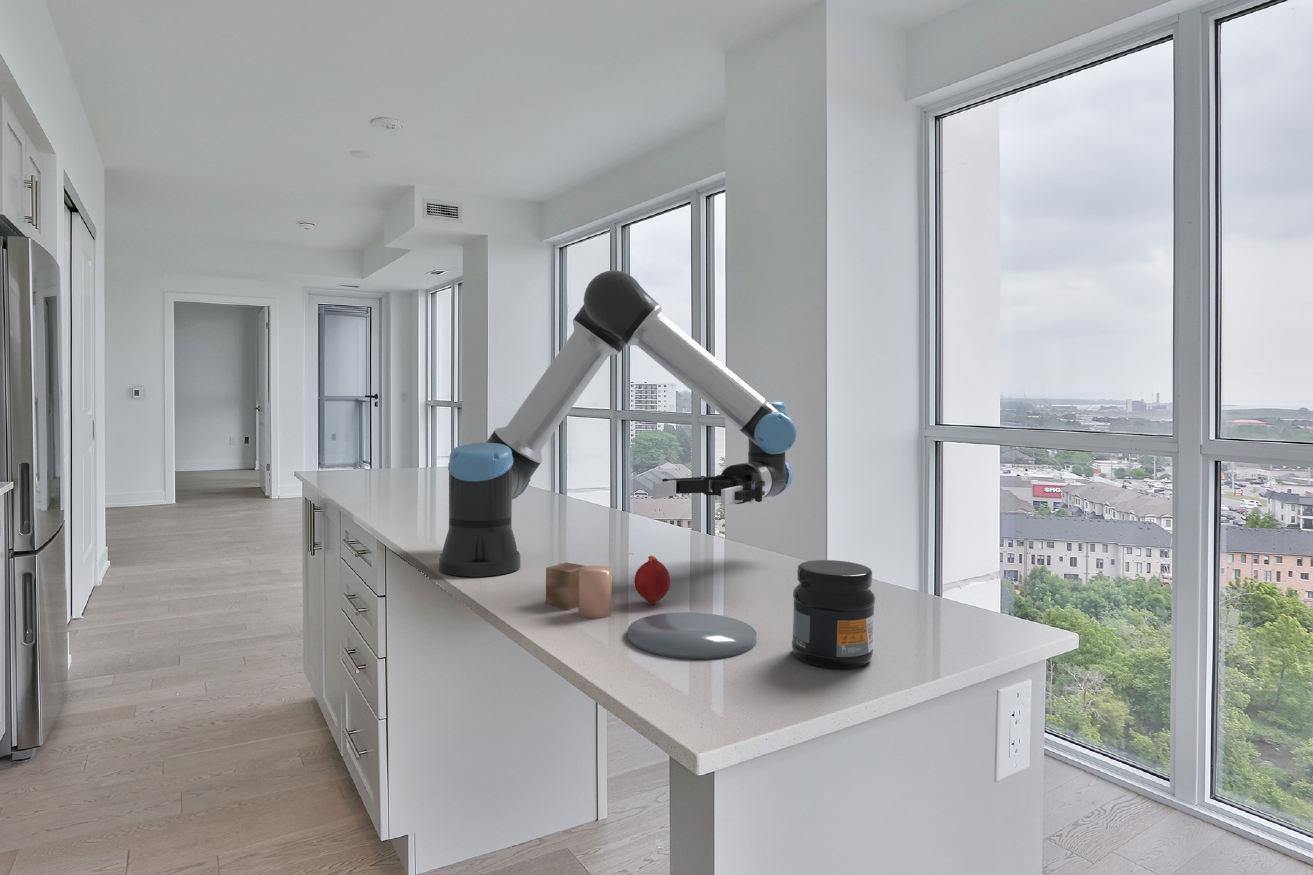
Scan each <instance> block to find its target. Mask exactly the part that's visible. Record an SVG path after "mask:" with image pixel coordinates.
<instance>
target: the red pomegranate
mask: <svg viewBox="0 0 1313 875" xmlns="http://www.w3.org/2000/svg"><path fill="white" fill-rule="evenodd" d="M647 558H648V560H647V561H646V562H644V563H642V564H641V566H639V568H638V569H637V570H636V572H635V575H634V588H635V590H636V592H637V593H638V595H639V596H640V597H641V598H643V600H645V601H646V602H647V603H648V605H655V604H657V603H658V602H660V601H661V600H662V599H663V598H664V597H665V596H666V595H667V594H668V592H669V590H670V587H671V582H672V581H671V580H672V579H671V575H670V572H669V570H668V569H667V568H666V566H665V565H664V564H663V563H662V562H661V561H659V560H658V559H657V558H656V557H655V555H652V554H651V555H649V556H648V557H647Z"/></svg>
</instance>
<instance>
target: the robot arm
mask: <svg viewBox="0 0 1313 875" xmlns="http://www.w3.org/2000/svg"><path fill="white" fill-rule="evenodd" d="M572 325H573V332H572V334H571V335H570V337H569V338H568V339H567V340H566V342H565V343H564V345H563V346H562V348H561V349H560V350H559V352H558V353H557V354H556V356H555V358H554V359H553V360H552V362H551V363H550V365H549V366H548V367H547V369H546V370H545V372H544V373H543V374H542V375H541V377H540V378H539V380H538V381H537V383H536V384H535V385H534V387H533V389H532V390H531V391H530V393H529V394H528V396H527V397H526V398H525V400H524V401H523V403H522V404H521V405H520V407H519V408H518V409H517V411H516V412H515V414H514V415H513V416H512V418H511V419H510V421H509V423H508V424H507V425H506V426H502V427H496V428H495V429H494V430H493V432H492V434H491V435H490V436H489V437H488V439H487V440H486V442H472V443H469V444H462V445H461V444H460V445H458V446H456V447H454V448H453V449H452V450H451V451H450V454H449V460H448V461H449V462H448V466H447V470H448V531H447V534H446V537H445V540H444V544H443V548H442V552H441V553H440V555H439V557H438V558H439V559H438V571H440V572H441V573H444V574H447V575H452V576H457V577H458V576H459V577H491V576H500V575H506V574H510V573H513V572H516V571H518V570H519V569H520V568H521V554H520V551H518V547H517V541H516V539H515V535H514V532H513V528H512V526H513V525H512V524H513V523H512V514H513V513H512V512H513V511H512V510H513V509H512V508H513V506H512V505H513V500H514V499H517V498H518V497H519V496H521V494H523V493H524V492H525V490H526V489H527V488H528V486H529V485H530V484H529V483H530V482H531V479H532V478H531V477H532V476H533V475H534V474H535V472H536V471H537V469H538V468H539V466H540V465H541V463H542V462H543V455H542V450H543V448H544V447H545V445H546V444H547V443H548V441H549V440H550V438H551V437H552V436H553V434H554V433H555V431H556V430H557V429H558V427H559V426H560V425H561V423H562V422H563V420H564V419H565V418H566V416H567V415H568V413H569V412H570V411H571V409H572V408H573V406H574V405H575V403H576V402H577V400H578V399H579V398H580V396H581V395H582V393H584V391H585V390H586V388H587V387H588V386H589V384H590V383H591V381H592V380H593V378H594V377H595V375H596V374H597V372H599V370H600V369H601V367H602V366H603V364H604V363H605V362H606V360H607V359H608V357H610V356H614V355H619V354H620V353H621V352H622V350H623V349H624V348H625V346H626V345H627V346H628V347H629V346H630V347H631V346H636V347H638V348H639V349H640V350H641V351H642V352H644V353H645V354H646V355H647V356H649V357H650V358H651V359H652V360H654V362H656V363H657V364H659V365H660V366H661V367H662V368H663V369H665V370H666V371H667V372H668V373H670V374H671V375H672V376H673V377H674V378H676V379H677V380H678V382H681V383H682V384H683V385H684V386H685V387H687V389H689V390H690V391H691V392H692V393H694V394H695V395H696V396H697V397H699V398H700V399H701V400H702V401H704V403H706V404H707V405H708V406H709V407H710V408H712V409H714V410H715V411H716V412H717V413H718V414H719V415H720V416H722V417H723V418H724V419H725V420H727V422H729V423H731V424H732V425H733V426H734V427H735V428H736V429H738V430H739V431H740V432H741V433H742V434H743V435H744V436H746V437H747V439H748V451H747V453H748V454H747V457H748V458H747V459H748V460H747V462H742V463H738V464H732V465H729V466H727V467H725V469H723V471H722V472H721V474H717V475H714V476H713V475H711V476H709V475H708V476H704V475H701V476H694V477H693V476H692V477H678V478H677V477H676V478H675V477H674V478H663V479H662V481H660V482H654V483H652V499H653V500H659V499H664V498H670V499H673V498H674V497H675V496H677V495H679V494H681V495H682V494H703V495H705V496H718V497H720V506H721V507H727V506H731V505H741V504H742V505H743V504H745V503H748V504H753V503H754V501H755V502H757V503H761V502H763V499H765V498H769V497H775V496H777V495H780V494H783V493H784V492H785V491H787V490H788V489H789V487H790V486H791V485H792V483H793V478H794V477H793V472H792V469H791V467H790V464H789V463H788V462H787V461H786V452H787V451H789V450H790V449H791V448H792V447H793V445H794V444H795V442H796V439H797V428H796V425H795V422H794V421H793V420H792V418H790V416H788V415H787V406H786V403H785V402H783V401H767V400H766V398H764V397H763V396H762V395H761V394H760V393H758V392H757V391H756V390H755V389H754V388H752V386H750V385H749V384H747V382H745V381H744V380H743V379H741V377H740V376H738V375H737V374H736V373H734V372H733V371H732V370H730V369H729V367H727V366H726V365H725V364H724V363H722V362H721V361H720V360H718V359H717V358H716V357H715V356H714V355H712V353H711V352H709V351H708V350H706V349H705V348H704V347H703V346H702V345H700V344H699V343H698V342H697V341H696V340H694V339H693V338H692V337H691V336H689V335H688V334H687V332H685V331H684V330H683V329H682V328H680V327H679V326H678V325H676V324H675V322H673V321H672V320H670V318H668V317H666V315H664V314H663V310H662V305H661V304H660V303H658V302H657V301H656V300H655V299H654V298H653V297H651V295H650V294H649V293H648V292H647V291H645V289H644V288H643V287H642V286H641V285H640V282H638V281H637V279H635V278H634V277H633V276H632V275H630V274H629V273H627V272H624V271H621V270H606V271H603V272H600V273H599V274H598V275H596V276H594V278H592V279H591V280H590V281H589V283H588V285H587V286H586V288H585V291H584V296H583V305H582V306H581V308H580V309H579V310H578V312H577V313H576V315H575V316H574V317H573V319H572ZM710 490H711V491H710Z"/></svg>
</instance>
